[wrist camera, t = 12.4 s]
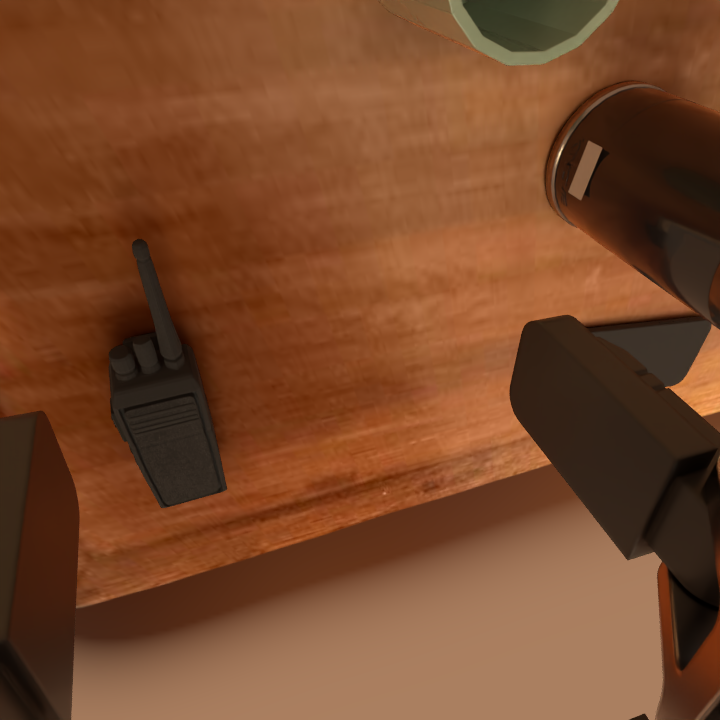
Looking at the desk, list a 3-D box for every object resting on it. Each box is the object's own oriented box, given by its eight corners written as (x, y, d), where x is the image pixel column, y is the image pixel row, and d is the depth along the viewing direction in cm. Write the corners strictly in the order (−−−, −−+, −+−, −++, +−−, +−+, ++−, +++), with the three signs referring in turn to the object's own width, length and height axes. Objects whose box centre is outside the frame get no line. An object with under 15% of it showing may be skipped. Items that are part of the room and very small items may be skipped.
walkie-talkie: (129, 504, 42) (9, 262, 28) (185, 440, 46) (105, 200, 32) (202, 539, 40) (112, 298, 26) (254, 469, 44) (201, 227, 30)
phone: (571, 334, 48) (716, 318, 52) (565, 328, 48) (709, 313, 53) (545, 405, 52) (681, 385, 57) (540, 399, 53) (675, 379, 57)
